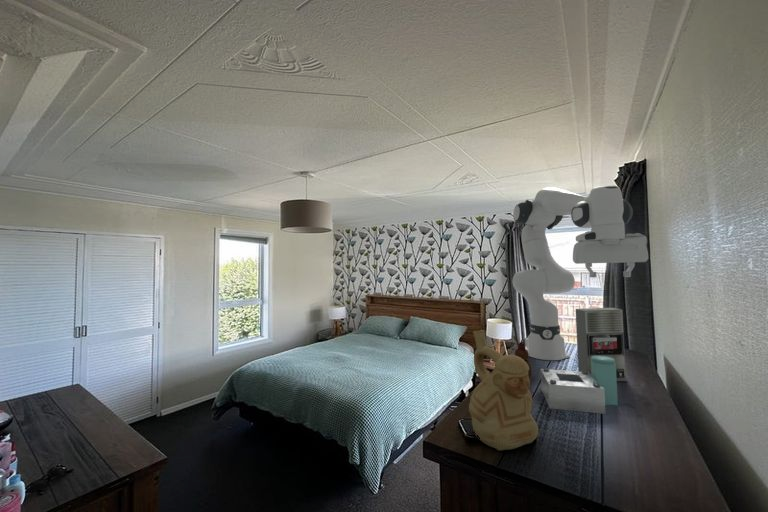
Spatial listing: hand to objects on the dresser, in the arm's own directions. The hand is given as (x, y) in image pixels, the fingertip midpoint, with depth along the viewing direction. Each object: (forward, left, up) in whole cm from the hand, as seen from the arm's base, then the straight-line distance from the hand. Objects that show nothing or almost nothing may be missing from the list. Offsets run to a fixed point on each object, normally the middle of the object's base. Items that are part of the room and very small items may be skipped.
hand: (609, 277), depth 102 cm
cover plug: (+8, -5, -37) cm, 38 cm away
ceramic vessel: (+36, -36, -37) cm, 63 cm away
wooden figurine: (-5, -27, -37) cm, 46 cm away
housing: (+10, -15, -37) cm, 41 cm away
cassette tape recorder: (-12, 0, -37) cm, 39 cm away
